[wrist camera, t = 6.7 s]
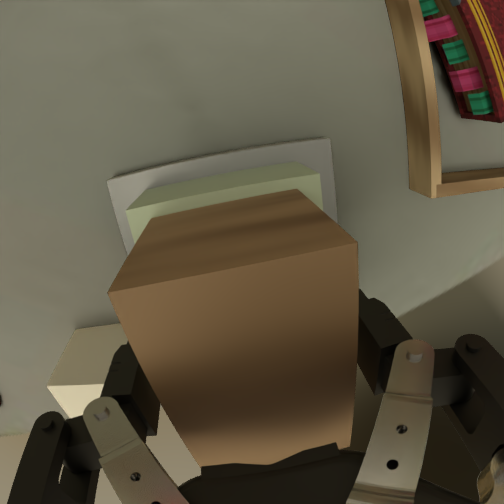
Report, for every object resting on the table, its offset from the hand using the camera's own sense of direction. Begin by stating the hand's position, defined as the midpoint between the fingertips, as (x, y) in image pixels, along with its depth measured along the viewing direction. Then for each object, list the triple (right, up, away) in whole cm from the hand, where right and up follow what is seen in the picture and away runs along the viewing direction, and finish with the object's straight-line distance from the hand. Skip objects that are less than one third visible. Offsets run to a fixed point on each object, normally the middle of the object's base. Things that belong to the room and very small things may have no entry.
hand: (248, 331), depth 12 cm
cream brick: (-10, -4, +9) cm, 14 cm away
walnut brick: (0, +1, +2) cm, 2 cm away
